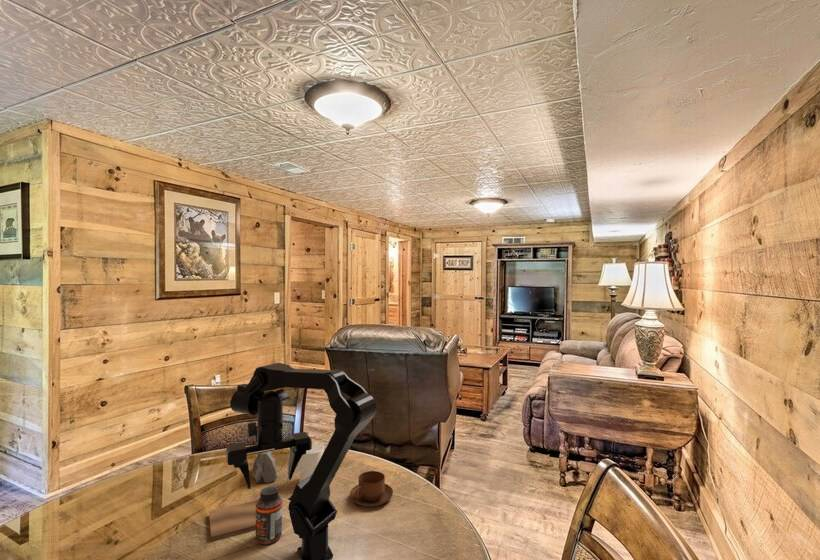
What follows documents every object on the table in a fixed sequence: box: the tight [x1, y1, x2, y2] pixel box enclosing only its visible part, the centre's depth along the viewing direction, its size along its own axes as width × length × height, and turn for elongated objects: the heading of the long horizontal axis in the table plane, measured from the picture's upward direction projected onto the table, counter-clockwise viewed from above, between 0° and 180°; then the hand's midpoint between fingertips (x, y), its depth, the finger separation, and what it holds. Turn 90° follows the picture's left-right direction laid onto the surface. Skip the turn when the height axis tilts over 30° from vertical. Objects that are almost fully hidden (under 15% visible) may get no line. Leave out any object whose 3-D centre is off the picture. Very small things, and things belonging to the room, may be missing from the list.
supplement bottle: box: [254, 485, 283, 545], centre depth 95 cm, size 6×6×11 cm
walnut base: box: [208, 499, 258, 542], centre depth 102 cm, size 12×12×1 cm
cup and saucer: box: [349, 470, 394, 507], centre depth 113 cm, size 12×12×6 cm
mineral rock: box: [251, 451, 279, 484], centre depth 128 cm, size 13×11×10 cm
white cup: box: [297, 442, 325, 484], centre depth 123 cm, size 8×8×10 cm
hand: (269, 483), depth 96 cm, fingers open, 9 cm apart
